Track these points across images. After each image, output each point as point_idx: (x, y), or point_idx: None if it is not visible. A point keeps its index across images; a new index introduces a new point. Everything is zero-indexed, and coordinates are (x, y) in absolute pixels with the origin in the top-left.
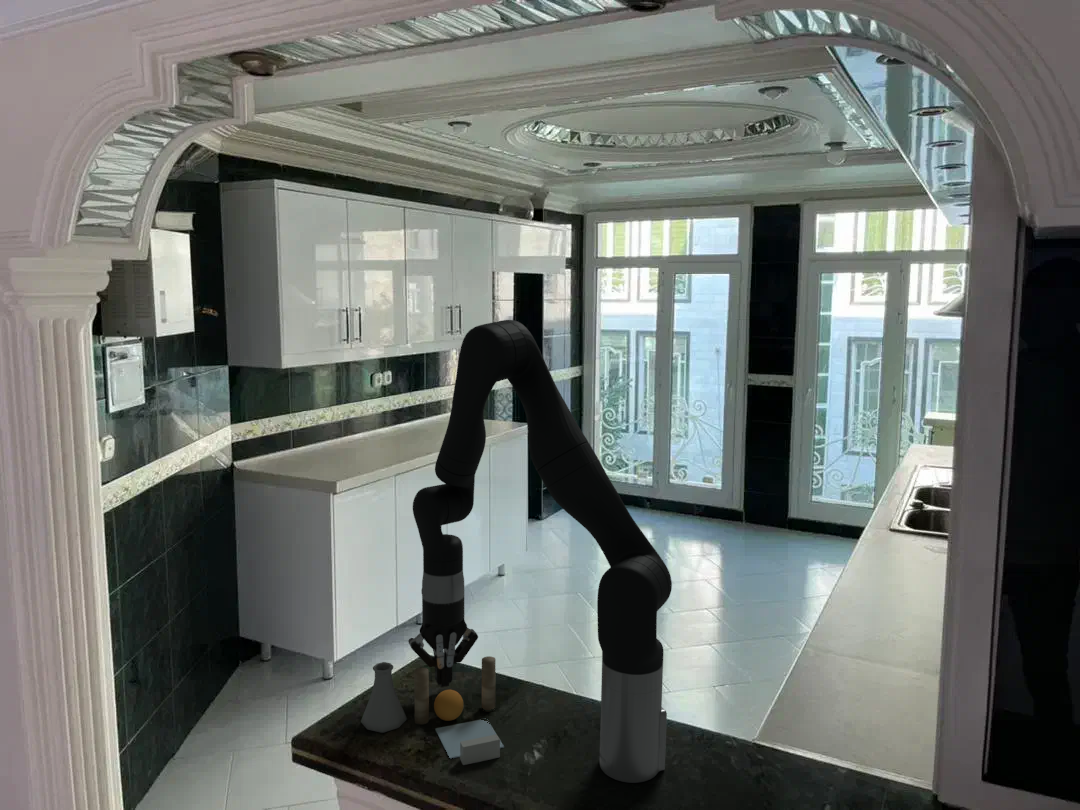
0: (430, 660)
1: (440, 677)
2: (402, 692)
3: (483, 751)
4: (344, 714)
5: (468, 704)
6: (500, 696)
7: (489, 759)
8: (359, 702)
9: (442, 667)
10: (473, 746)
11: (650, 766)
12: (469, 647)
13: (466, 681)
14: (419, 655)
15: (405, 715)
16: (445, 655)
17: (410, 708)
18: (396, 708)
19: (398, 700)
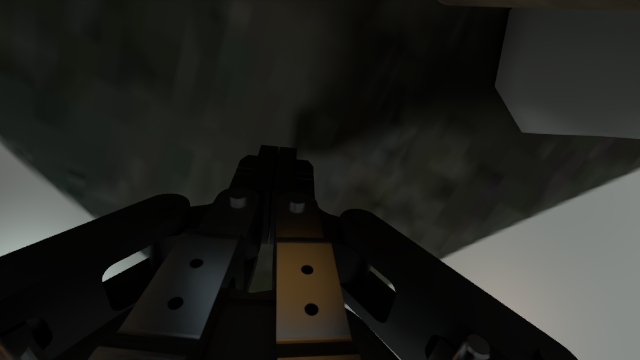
0: (368, 238)
1: (296, 175)
2: (407, 208)
3: None
4: (634, 161)
5: (208, 8)
6: (34, 5)
7: None
8: (548, 207)
9: (287, 194)
10: None
11: None
12: (27, 257)
13: (175, 188)
14: (462, 281)
15: (525, 13)
16: (244, 269)
17: (441, 98)
18: None
19: (621, 27)
